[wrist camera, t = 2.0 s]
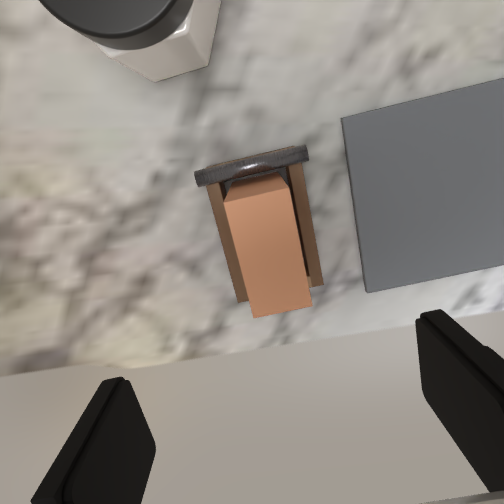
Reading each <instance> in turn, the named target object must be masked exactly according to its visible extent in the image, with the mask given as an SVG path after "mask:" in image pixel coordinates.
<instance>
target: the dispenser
mask: <svg viewBox="0 0 504 504" xmlns="http://www.w3.org/2000/svg"><path fill="white" fill-rule="evenodd" d="M307 161H309V156H308V150H307V147H306V145H301V146H297V147H296V146H291V147H287V148H283V149H279V150H274V151H270V152H266V153H262V154H258V155H254V156H250V157H246V158H242V159H237V160H233V161H229V162H225V163H221V164H217V165H213V166H209V167H206V168H205V169H202V170H198V171H195V172H194V175H195V180H196V183H197V185H198V187H202V186H206V187H207V191H208V195H209V198H210V202H211V205H212V209H213V213H214V216H215V220H216V224H217V227H218V231H219V235H220V238H221V242H222V246H223V249H224V253H225V257H226V260H227V264H228V268H229V271H230V275H231V279H232V282H233V286H234V289H235V293H236V297H237V300H238V303H239V302H244V301H249V298H248V295H247V291H246V287H245V283H244V279H243V275H242V272H241V268H240V264H239V260H238V256H237V253H236V249H235V245H234V241H233V237H232V233H231V230H230V226H229V222H228V218H227V214H226V211H225V207H224V200H225V198H226V196H227V194H226V190H225V186H224V182H223V181H227V180H231V179H235V178H240V177H244V176H248V175H252V174H256V173H260V172H265V171H269V170H273V169H277V168H281V167H285V169H286V174H287V179H288V184H289V189H290V194H291V199H292V204H293V209H294V214H295V219H296V224H297V229H298V234H299V239H300V244H301V249H302V254H303V259H304V266H305V271H306V276H307V281H308V286H309V288H310V287H315V286H320V285H324V283H323V278H322V273H321V267H320V262H319V256H318V251H317V245H316V240H315V234H314V229H313V223H312V218H311V213H310V207H309V202H308V196H307V191H306V185H305V180H304V174H303V169H302V164H301V163H302V162H307Z"/></svg>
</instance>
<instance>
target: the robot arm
mask: <svg viewBox="0 0 504 504" xmlns="http://www.w3.org/2000/svg"><path fill="white" fill-rule="evenodd" d="M415 323H416V334H417V344H418V354H419V363H420V373H421V383H422V391H423V394H424V397H425V399H426V401H427V402H428V404H429V405H430V407H431V408H432V409H433V411H434V412H435V414H436V415H437V417H438V418H439V420H440V421H441V423H442V424H443V425H444V427H445V428H446V430H447V431H448V432H449V434H450V435H451V437H452V438H453V440H454V441H455V443H456V444H457V446H458V447H459V449H460V450H461V451H462V453H463V454H464V456H465V457H466V459H467V460H468V462H469V463H470V464H471V466H472V467H473V468H474V470H475V472H476V473H477V475H478V476H479V477H480V479H481V480H482V482H483V483H484V485H485V486H486V487H487V489H488V491H489V492H490V493H484V494H478V495H471V496H465V497H458V498H452V499H445V500H439V501H433V502H427V503H421V504H504V359H503V358H501V356H499V355H498V354H497V353H496V352H495V351H494V350H492V349H491V348H489V347H488V346H483V345H482V344H481V343H480V342H479V341H478V340H476V339H475V338H474V337H473V336H472V335H470V334H469V333H468V332H467V331H466V330H465V329H464V328H462V327H461V326H460V325H459V324H458V323H457V322H456V321H454V320H453V319H452V318H451V317H450V316H449V315H448V314H446V313H445V312H444V311H443V310H441V309H438V310H433V311H429V312H424V313H421V315H420V318H419V319H416V321H415ZM155 452H156V446H155V441H154V439H153V436H152V434H151V431H150V429H149V427H148V424H147V422H146V419H145V417H144V414H143V412H142V409H141V407H140V405H139V402H138V400H137V397H136V395H135V392H134V390H133V388H132V385H131V383H130V381H129V380H125V379H124V378H123V377H117V378H112V379H107V380H104V381H102V383H101V384H100V386H99V387H98V389H97V391H96V392H95V394H94V396H93V398H92V399H91V401H90V402H89V404H88V406H87V408H86V409H85V411H84V412H83V414H82V416H81V417H80V419H79V421H78V423H77V424H76V426H75V428H74V429H73V431H72V432H71V434H70V436H69V437H68V439H67V441H66V443H65V444H64V446H63V447H62V449H61V451H60V452H59V454H58V456H57V458H56V459H55V461H54V463H53V464H52V466H51V467H50V469H49V471H48V472H47V474H46V476H45V477H44V479H43V481H42V483H41V484H40V486H39V487H38V489H37V491H36V492H35V494H34V496H33V497H32V499H31V503H32V504H141V502H142V498H143V494H144V491H145V488H146V484H147V481H148V478H149V474H150V471H151V467H152V464H153V460H154V457H155Z"/></svg>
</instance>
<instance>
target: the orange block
mask: <svg viewBox="0 0 504 504" xmlns="http://www.w3.org/2000/svg"><path fill="white" fill-rule="evenodd" d="M224 207H225V211H226V214H227V218H228V222H229V226H230V230H231V233H232V237H233V241H234V245H235V249H236V253H237V256H238V260H239V264H240V268H241V272H242V275H243V279H244V283H245V287H246V291H247V295H248V298H249V302H250V306H251V310H252V314H253V318H257V317H262V316H267V315H272V314H277V313H281V312H286V311H291V310H296V309H301V308H305V307H310V306H312V301H311V296H310V291H309V286H308V281H307V276H306V271H305V266H304V261H303V256H302V250H301V245H300V240H299V235H298V230H297V225H296V220H295V215H294V210H293V205H292V200H291V195H290V190H289V187H288V185H287V184H286V183H285V181H284V180H283V179H282V177H281V176H280V175H279V173H278V172H272V173H268V174H264V175H260V176H256V177H251V178H247V179H243V180H239V181H235V182H232V184H231V186H230V189H229V191H228V193H227V196H226V198H225V200H224Z"/></svg>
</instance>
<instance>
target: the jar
mask: <svg viewBox="0 0 504 504" xmlns="http://www.w3.org/2000/svg"><path fill="white" fill-rule="evenodd" d="M39 1H40V2H41V4H42V5H43V6H44V7H45V8H46V9H47V10H48V11H49V12H50V13H51V14H52V15H54V16H55V17H56V18H57V19H58V20H60V21H61V22H63V23H64V24H66V25H67V26H69V27H70V28H72V29H74V30H75V31H77V32H79V33H80V34H82V35H84V36H85V37H87V38H89V39H90V40H92V41H93V42H94V43H95V44H96V45H97V46H98V47H99V48H100V49H101V50H102V51H103V52H104V53H105V54H106V55H107V56H108V57H109V58H111V59H113V60H115V61H116V62H118V63H120V64H122V65H124V66H126V67H127V68H129V69H131V70H133V71H135V72H136V73H138V74H140V75H142V76H144V77H145V78H147V79H149V80H151V81H153V82H157V81H161V80H164V79H167V78H170V77H173V76H177V75H180V74H183V73H187V72H190V71H193V70H196V69H200V68H203V67H206V66H208V64H209V59H210V54H211V49H212V44H213V39H214V34H215V29H216V24H217V19H218V15H219V10H220V5H221V0H39Z"/></svg>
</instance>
